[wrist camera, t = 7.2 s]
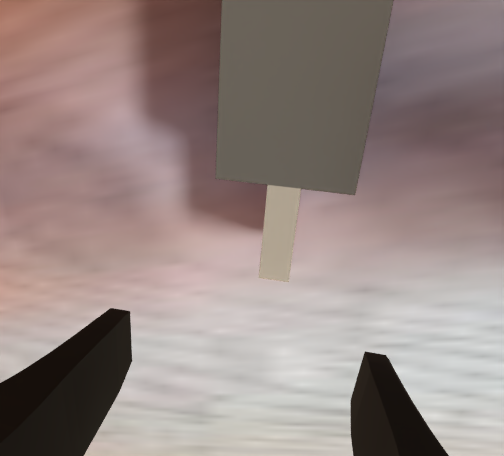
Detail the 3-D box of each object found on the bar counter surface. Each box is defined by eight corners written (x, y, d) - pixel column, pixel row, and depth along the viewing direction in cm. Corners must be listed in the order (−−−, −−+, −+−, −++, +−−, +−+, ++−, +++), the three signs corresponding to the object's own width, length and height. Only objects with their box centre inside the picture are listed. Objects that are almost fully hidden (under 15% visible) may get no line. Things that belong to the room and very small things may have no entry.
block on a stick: (333, 240, 21) (336, 288, 17) (230, 227, 21) (212, 271, 18) (388, -60, 15) (409, -81, 12) (246, -70, 16) (225, -93, 12)
